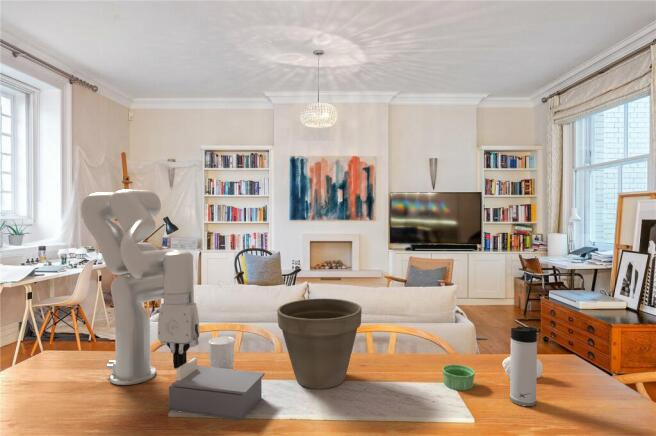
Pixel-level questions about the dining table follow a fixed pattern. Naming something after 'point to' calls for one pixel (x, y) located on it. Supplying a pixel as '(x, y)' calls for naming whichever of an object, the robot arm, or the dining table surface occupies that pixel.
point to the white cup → (221, 352)
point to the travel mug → (523, 365)
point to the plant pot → (319, 339)
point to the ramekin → (458, 377)
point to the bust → (507, 366)
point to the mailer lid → (215, 378)
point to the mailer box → (214, 401)
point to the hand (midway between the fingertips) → (180, 366)
